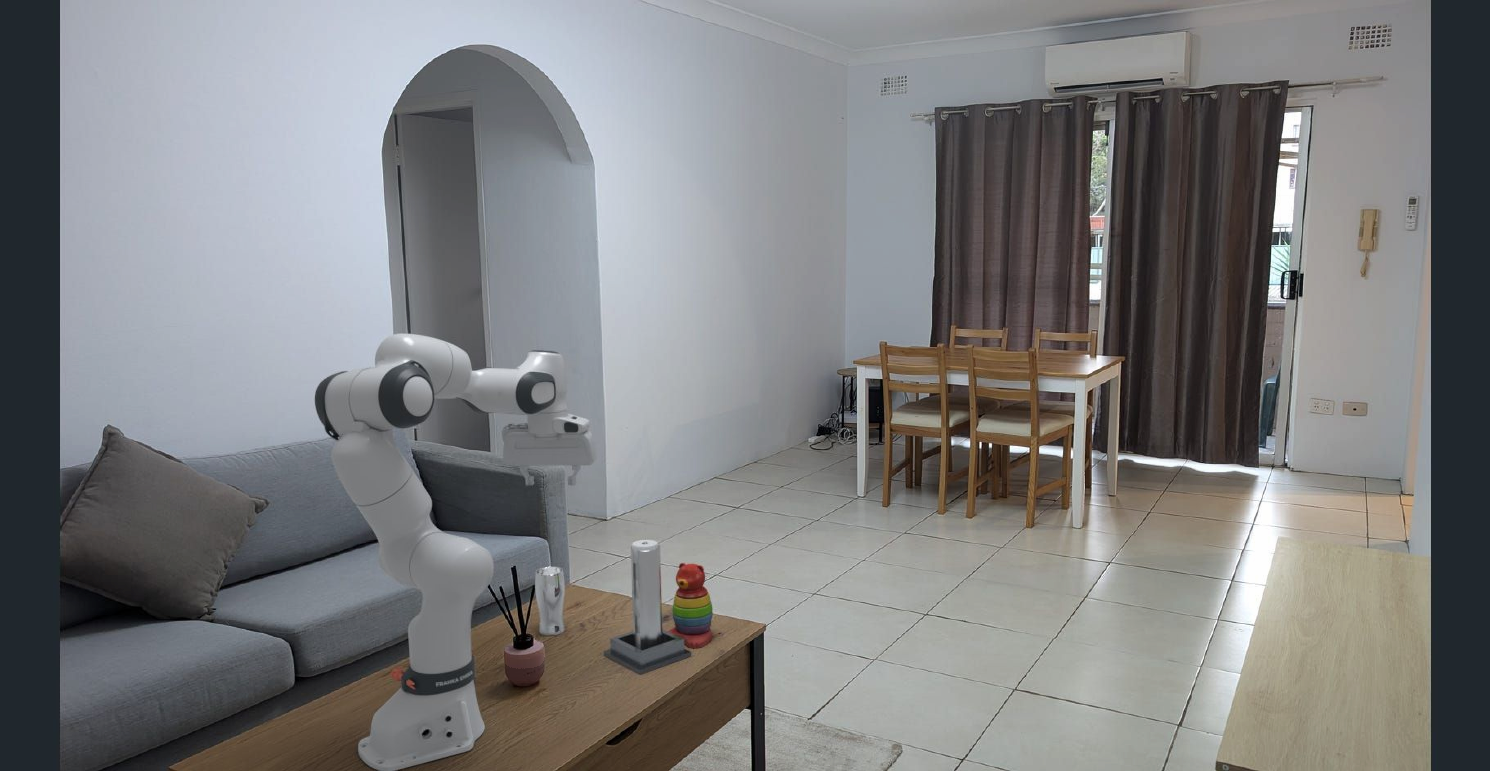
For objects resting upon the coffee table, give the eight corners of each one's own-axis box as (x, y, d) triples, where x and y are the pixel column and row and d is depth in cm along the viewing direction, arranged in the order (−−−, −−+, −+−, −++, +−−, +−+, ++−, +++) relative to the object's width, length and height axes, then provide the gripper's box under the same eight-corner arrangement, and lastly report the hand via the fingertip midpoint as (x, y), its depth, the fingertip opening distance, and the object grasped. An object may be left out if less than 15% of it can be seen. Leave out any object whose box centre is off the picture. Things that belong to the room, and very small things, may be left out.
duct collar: (640, 674, 208) (639, 656, 207) (603, 655, 218) (603, 638, 218) (691, 656, 217) (690, 639, 217) (654, 638, 227) (653, 622, 227)
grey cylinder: (666, 653, 216) (663, 544, 213) (637, 657, 214) (634, 548, 211) (659, 642, 222) (656, 536, 219) (631, 646, 220) (627, 540, 217)
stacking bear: (660, 640, 227) (658, 566, 224) (687, 626, 235) (685, 555, 232) (697, 650, 220) (695, 574, 218) (723, 635, 229) (721, 562, 226)
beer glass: (535, 627, 236) (533, 568, 234) (564, 624, 238) (562, 564, 236) (538, 638, 229) (535, 576, 227) (568, 634, 231) (565, 573, 229)
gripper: (497, 426, 210) (500, 488, 212) (590, 425, 209) (592, 488, 211) (505, 421, 217) (509, 481, 218) (596, 420, 215) (598, 481, 217)
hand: (550, 484), depth 215 cm, fingers open, 8 cm apart
